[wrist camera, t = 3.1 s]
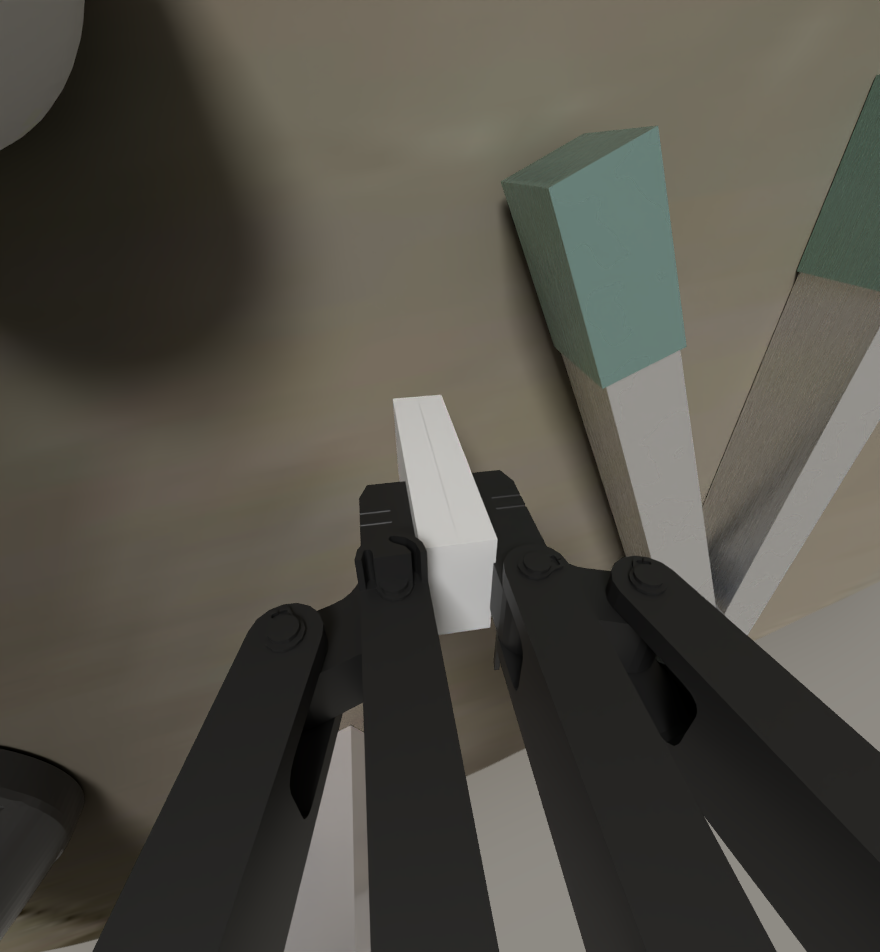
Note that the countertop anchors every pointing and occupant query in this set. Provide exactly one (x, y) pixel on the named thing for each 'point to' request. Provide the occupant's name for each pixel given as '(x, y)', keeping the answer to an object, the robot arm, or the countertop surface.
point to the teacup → (34, 59)
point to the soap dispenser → (337, 860)
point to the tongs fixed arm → (805, 393)
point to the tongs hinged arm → (619, 331)
